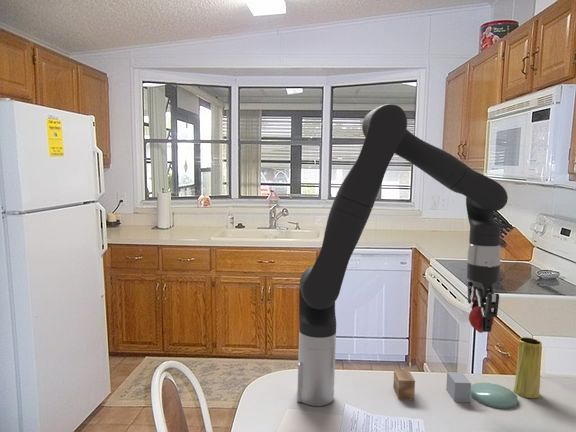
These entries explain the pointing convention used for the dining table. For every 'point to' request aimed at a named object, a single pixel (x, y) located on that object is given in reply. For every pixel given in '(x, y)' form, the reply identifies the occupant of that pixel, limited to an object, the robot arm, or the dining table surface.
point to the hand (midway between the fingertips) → (480, 326)
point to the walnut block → (404, 384)
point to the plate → (493, 395)
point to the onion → (477, 318)
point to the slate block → (458, 387)
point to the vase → (528, 368)
